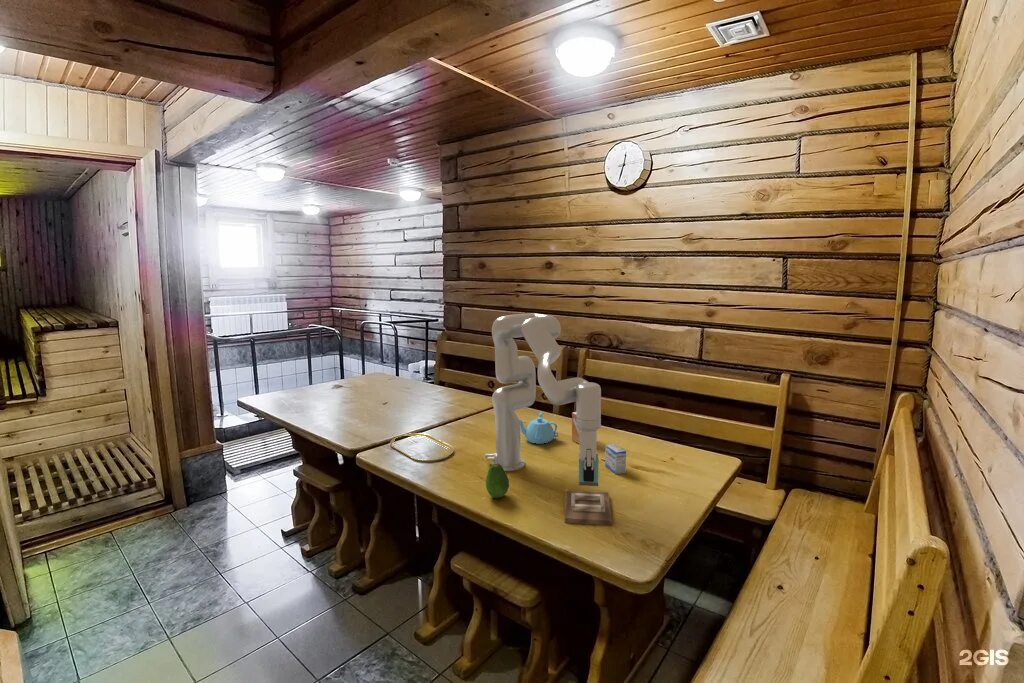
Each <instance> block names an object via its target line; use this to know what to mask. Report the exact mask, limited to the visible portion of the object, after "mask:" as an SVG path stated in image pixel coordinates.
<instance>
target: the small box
mask: <svg viewBox="0 0 1024 683" xmlns="http://www.w3.org/2000/svg"><path fill="white" fill-rule="evenodd" d="M579 433H580V429H578V428H577V427H576V411H574V412H571V441H572V440H573V442H574V441H575V442H574V443H576V442H577V443H576V444H578V443H579Z"/></svg>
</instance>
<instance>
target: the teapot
mask: <svg viewBox="0 0 1024 683" xmlns="http://www.w3.org/2000/svg"><path fill="white" fill-rule="evenodd" d="M519 420H520V432H521V433H522V434H523V435H524V437H525V438H526V440H527V442H529V443H531V444H534V443H536V444H535V445H545V444H544V443H546V444H549V443H551V442H550V441H553V440H554V438H558V437H559V433H558V432H557V429H558V425H557V423H556V422H554V421H551V422H549V420H547V419H545V418H543V412H542V411H540V412H539V413H538V417H536V418H535V419H533V420H531V421H530V422H529V424H528V425H527V427H525V426H524V422H523V420H522V419H520V418H519ZM552 425H554V428H553V426H552ZM548 442H549V443H548Z"/></svg>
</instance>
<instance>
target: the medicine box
mask: <svg viewBox="0 0 1024 683" xmlns="http://www.w3.org/2000/svg"><path fill="white" fill-rule="evenodd" d="M604 450H605V452H604V453H605V456H604V457H605V458H604V467H606V468H607V469H608V470H609V469H610V472H613V473H614V474H615V475H618V474H624V473H626V471H627V470H626V469H627V451H626V450H625V449H623V448H622V447H620V446H619V445H617V444H615V443H613V444H607V445H605V449H604Z"/></svg>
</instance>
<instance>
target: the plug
mask: <svg viewBox="0 0 1024 683" xmlns="http://www.w3.org/2000/svg"><path fill="white" fill-rule="evenodd" d="M585 459H587V458H586V457H585ZM591 460H592V458H591ZM599 461H600V460H599V454H598V453H596V459H595V461H593V469H594V482H584V480H583V469H584V461H580V455H579V454H578V486H580V487H582V486H583V487H599ZM586 464H587V462H586Z"/></svg>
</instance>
